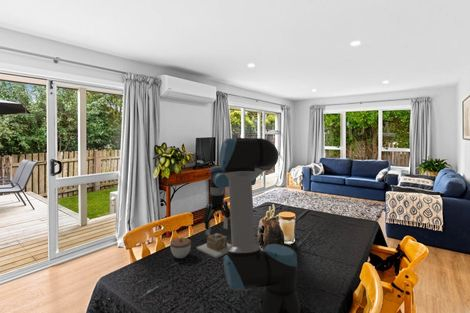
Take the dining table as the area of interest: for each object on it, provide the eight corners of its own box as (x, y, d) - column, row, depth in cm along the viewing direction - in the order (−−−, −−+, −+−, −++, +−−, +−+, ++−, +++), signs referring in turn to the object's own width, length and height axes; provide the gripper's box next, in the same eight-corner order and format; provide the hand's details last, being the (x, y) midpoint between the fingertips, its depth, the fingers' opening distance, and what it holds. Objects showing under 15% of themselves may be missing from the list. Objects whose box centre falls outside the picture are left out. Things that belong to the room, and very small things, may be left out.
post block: (216, 258, 138) (216, 243, 137) (196, 249, 148) (196, 235, 148) (236, 248, 149) (237, 234, 149) (217, 240, 160) (217, 227, 160)
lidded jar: (166, 257, 138) (165, 240, 137) (179, 249, 148) (179, 233, 147) (182, 262, 133) (182, 244, 132) (194, 253, 143) (194, 237, 142)
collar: (216, 251, 143) (216, 240, 143) (206, 246, 149) (206, 236, 148) (226, 246, 149) (227, 236, 149) (217, 242, 154) (217, 232, 154)
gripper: (204, 198, 135) (204, 239, 136) (237, 191, 153) (236, 227, 154) (195, 196, 140) (195, 235, 141) (227, 190, 158) (227, 224, 159)
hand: (217, 231), depth 148 cm, fingers open, 13 cm apart
